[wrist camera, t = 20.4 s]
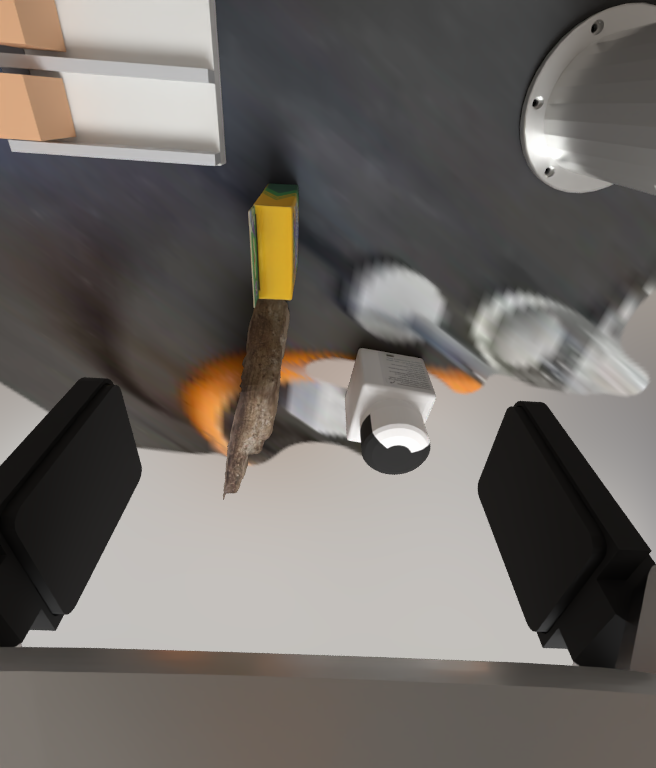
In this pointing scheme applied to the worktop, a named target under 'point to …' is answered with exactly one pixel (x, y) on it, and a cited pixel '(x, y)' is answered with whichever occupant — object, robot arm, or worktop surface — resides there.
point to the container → (389, 410)
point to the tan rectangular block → (31, 25)
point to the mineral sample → (257, 387)
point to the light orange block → (34, 108)
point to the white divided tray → (133, 81)
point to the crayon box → (274, 242)
